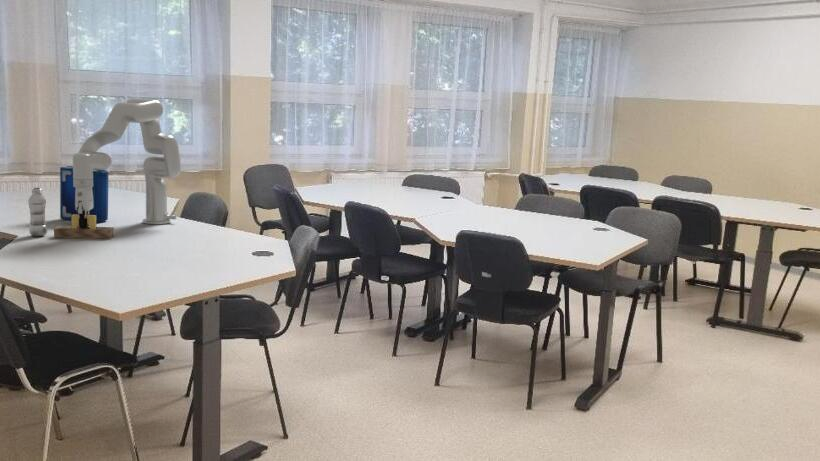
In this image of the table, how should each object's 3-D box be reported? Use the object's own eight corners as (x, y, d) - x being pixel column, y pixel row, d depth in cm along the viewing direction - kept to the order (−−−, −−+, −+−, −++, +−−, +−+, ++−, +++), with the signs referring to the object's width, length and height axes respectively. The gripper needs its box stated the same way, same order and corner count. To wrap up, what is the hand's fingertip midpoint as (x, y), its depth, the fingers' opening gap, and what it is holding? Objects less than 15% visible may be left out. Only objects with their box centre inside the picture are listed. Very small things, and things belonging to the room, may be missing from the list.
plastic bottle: (40, 238, 295) (38, 189, 291) (25, 236, 296) (23, 188, 292) (50, 235, 301) (49, 188, 297) (36, 234, 302) (35, 186, 299)
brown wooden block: (113, 236, 306) (113, 227, 305) (110, 239, 300) (110, 229, 300) (58, 235, 302) (58, 225, 302) (54, 237, 297) (53, 228, 296)
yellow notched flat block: (96, 233, 303) (96, 215, 302) (94, 235, 301) (94, 216, 299) (73, 233, 302) (73, 214, 300) (72, 234, 299) (71, 215, 298)
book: (111, 221, 341) (110, 168, 337) (103, 223, 334) (102, 169, 330) (67, 217, 343) (66, 165, 339) (59, 220, 336) (57, 166, 332)
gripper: (87, 185, 290) (88, 230, 293) (97, 181, 306) (98, 223, 309) (67, 185, 289) (68, 230, 292) (79, 180, 305) (80, 223, 308)
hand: (84, 226), depth 301 cm, fingers closed on yellow notched flat block, 2 cm apart
